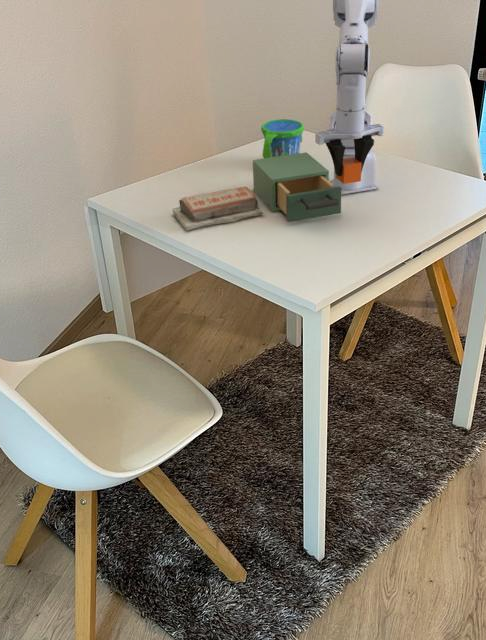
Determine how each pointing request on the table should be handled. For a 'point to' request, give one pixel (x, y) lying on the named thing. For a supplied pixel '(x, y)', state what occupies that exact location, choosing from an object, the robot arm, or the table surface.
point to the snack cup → (282, 137)
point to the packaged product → (217, 208)
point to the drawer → (308, 198)
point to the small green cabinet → (283, 174)
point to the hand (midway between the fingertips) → (348, 173)
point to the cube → (350, 171)
